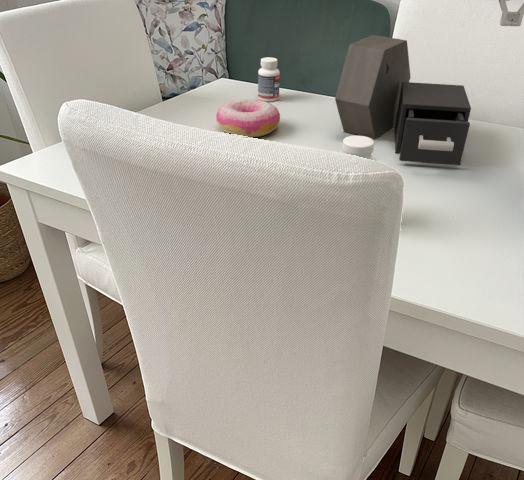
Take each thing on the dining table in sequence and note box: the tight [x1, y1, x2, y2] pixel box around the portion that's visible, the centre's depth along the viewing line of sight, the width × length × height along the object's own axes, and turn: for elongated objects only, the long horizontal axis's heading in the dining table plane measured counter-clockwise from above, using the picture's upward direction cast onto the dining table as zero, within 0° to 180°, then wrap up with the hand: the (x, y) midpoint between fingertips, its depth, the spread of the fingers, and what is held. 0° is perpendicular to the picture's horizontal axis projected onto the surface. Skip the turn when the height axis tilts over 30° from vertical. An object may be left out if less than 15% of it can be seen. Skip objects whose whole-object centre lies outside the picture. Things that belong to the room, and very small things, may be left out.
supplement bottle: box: [341, 135, 378, 162], centre depth 89 cm, size 7×7×13 cm
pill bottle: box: [257, 56, 281, 102], centre depth 138 cm, size 5×5×9 cm
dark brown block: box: [334, 34, 411, 140], centre depth 119 cm, size 17×8×21 cm
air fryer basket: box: [398, 108, 471, 166], centre depth 110 cm, size 18×11×8 cm, turn 170°
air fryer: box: [394, 81, 472, 154], centre depth 116 cm, size 15×13×10 cm
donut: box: [215, 98, 281, 138], centre depth 123 cm, size 14×13×5 cm
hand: (509, 25), depth 91 cm, fingers closed
